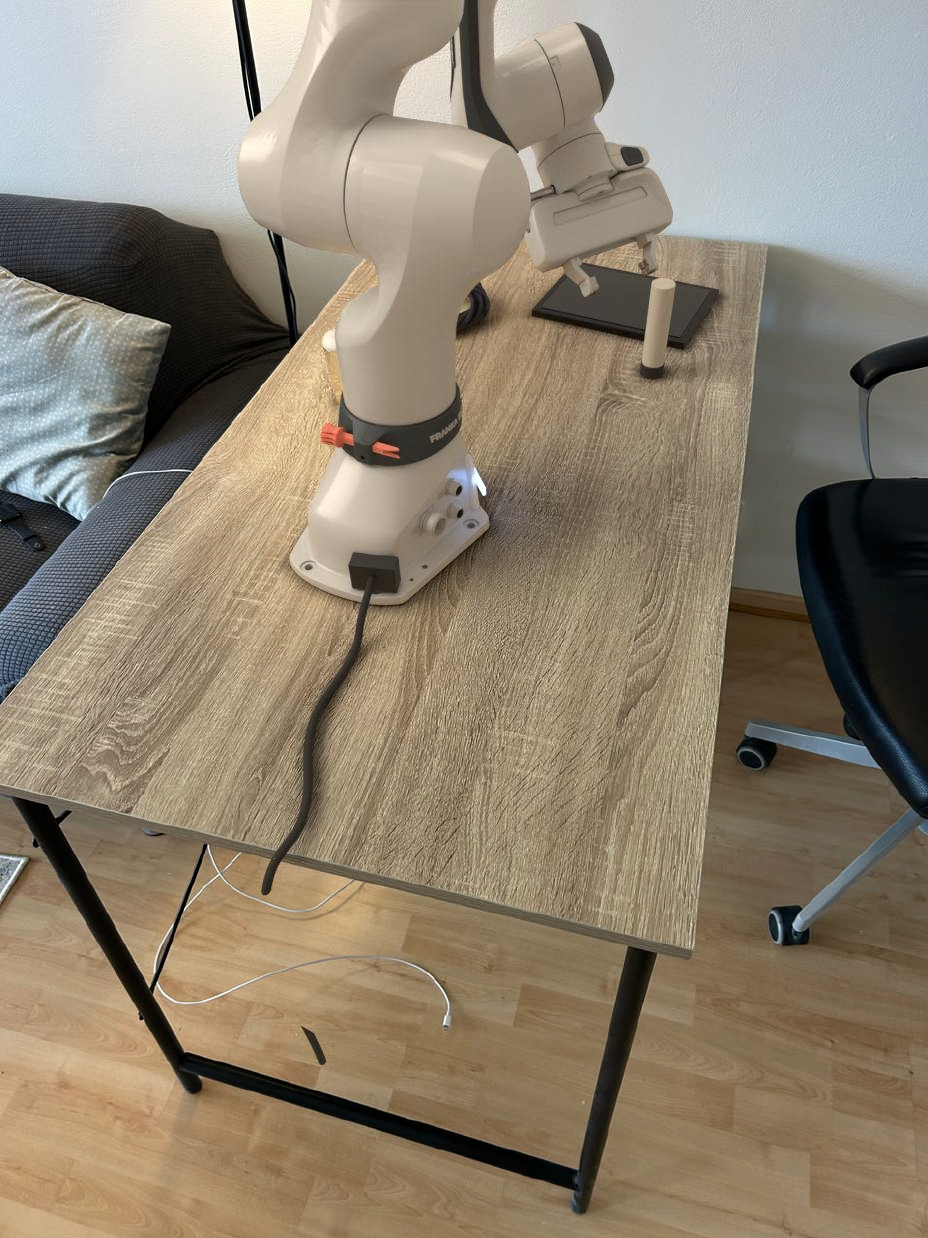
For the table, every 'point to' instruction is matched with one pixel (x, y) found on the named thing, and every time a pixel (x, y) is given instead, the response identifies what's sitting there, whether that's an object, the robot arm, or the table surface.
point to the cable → (474, 308)
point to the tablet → (624, 304)
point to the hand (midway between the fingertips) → (622, 283)
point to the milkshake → (332, 362)
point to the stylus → (657, 328)
